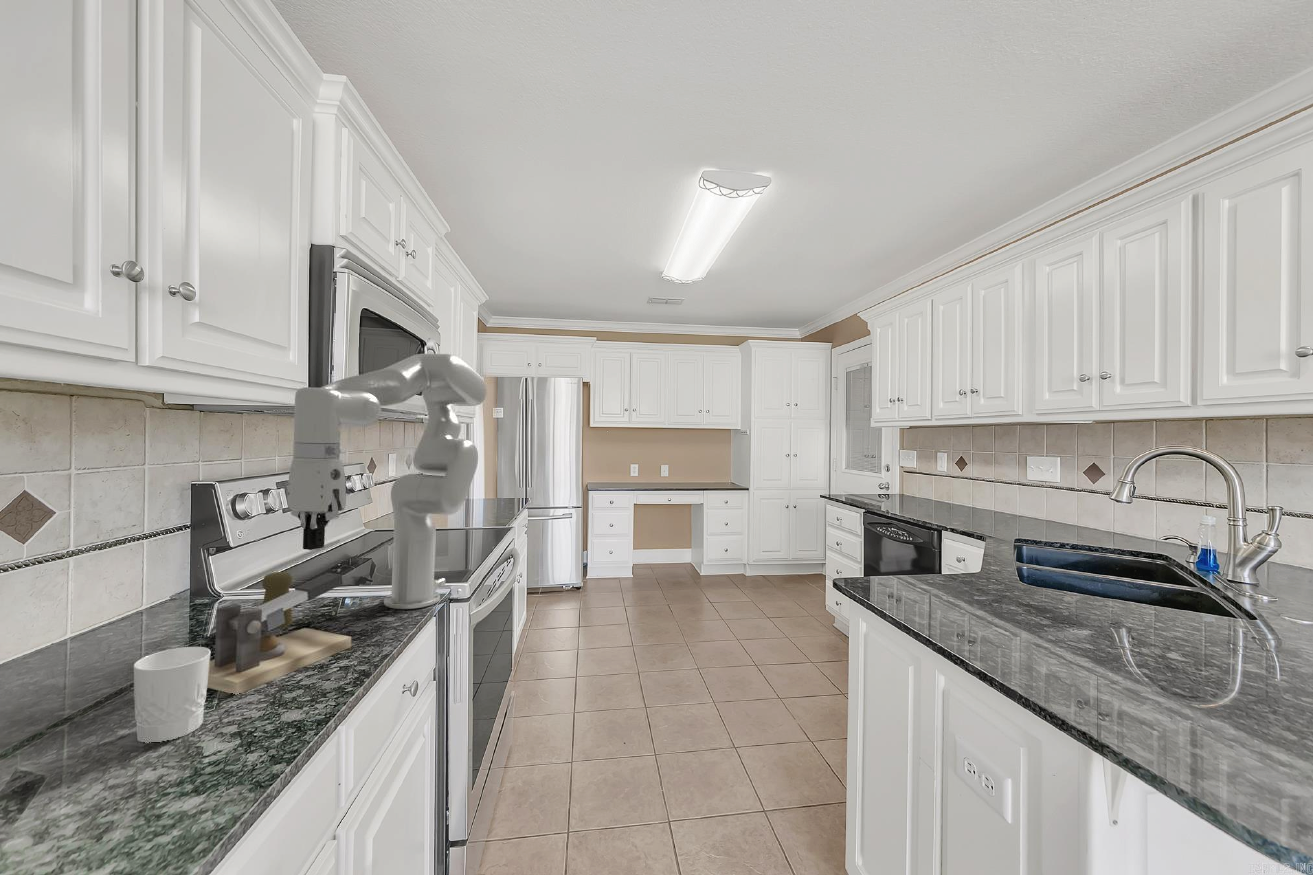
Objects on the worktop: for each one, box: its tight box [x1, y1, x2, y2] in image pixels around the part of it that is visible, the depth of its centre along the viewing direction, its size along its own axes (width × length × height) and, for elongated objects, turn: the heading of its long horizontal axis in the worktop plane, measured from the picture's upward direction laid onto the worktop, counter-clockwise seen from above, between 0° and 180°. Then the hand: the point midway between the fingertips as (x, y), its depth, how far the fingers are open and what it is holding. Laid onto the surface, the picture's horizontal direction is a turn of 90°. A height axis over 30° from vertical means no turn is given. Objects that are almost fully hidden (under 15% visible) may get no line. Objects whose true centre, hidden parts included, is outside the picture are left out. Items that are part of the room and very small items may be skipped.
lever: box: [229, 572, 344, 632], centre depth 98 cm, size 19×4×4 cm, turn 162°
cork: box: [262, 571, 294, 630], centre depth 114 cm, size 6×6×11 cm
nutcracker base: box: [207, 603, 352, 696], centre depth 96 cm, size 21×12×12 cm, turn 162°
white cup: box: [133, 646, 212, 744], centre depth 74 cm, size 8×8×10 cm
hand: (313, 548), depth 102 cm, fingers closed
